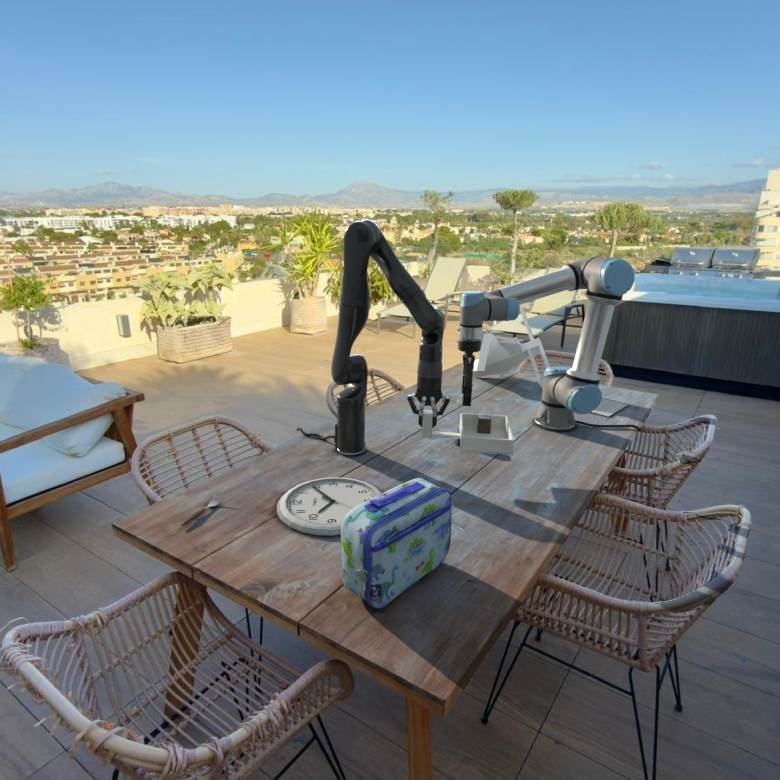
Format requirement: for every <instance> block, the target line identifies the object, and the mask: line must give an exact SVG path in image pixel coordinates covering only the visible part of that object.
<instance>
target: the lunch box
mask: <svg viewBox="0 0 780 780" xmlns="http://www.w3.org/2000/svg"><path fill="white" fill-rule="evenodd" d="M451 539H452V494H451V491H450V490H449V488H446V487H439V486H437V485H435V484H434V483H432V482H430V481H428V480H426V479H424V478H421V477H416V478H413V479H410V480H408V481H405V482H403V483H402V484H398V485H397V486H395V487H392V488H390V489H389V490H386V491H384V492H382V494H380V495H378V496H376V497H374V498H372V499H370V500H368V501H366V502H364V503H362V504H360V505H358V506H356V507H354V508H353V509H351V510H350V511H349V512H348V514H347V515H346V517H345V518H344V520H343V523H342V528H341V535H340V546H341V569H342V570H341V571H342V582H343V585H344V588H345V589H346V590H347V591H349V592H351V593H353V594H355V595H356V596H358V597H359V598H361V599H362V600H364V601H365V602H366V603H367V605H368V606H370V607H372V608H374V609H378V610H379V609H380V610H381V609H383V608H384V607H387V605H389V604H390V603H391V602H392V601H393V600H395V599H396V598H397V597H399V596H400V595H402V594H403V593H404V592H405V591H407V590H408V589H409V588H411V587H412V586H413V585H415V584H416V583H418V581H419V580H420V579H421V578H423V577H425V576H427V575H428V574H429V573H431V572H432V571H434V570H435V569H437V568H438V567H439V566H441V564H442V563H443V562H444V561H445V559H446V557H447V556H448V554H449V550H450V547H451V541H452V540H451Z"/></svg>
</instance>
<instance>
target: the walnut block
mask: <svg viewBox="0 0 780 780" xmlns="http://www.w3.org/2000/svg"><path fill="white" fill-rule="evenodd" d="M477 414H478V422H477V433H485V434H490V430H491V415H492V414H486V415H481V414H482V413H477Z"/></svg>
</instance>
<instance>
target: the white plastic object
mask: <svg viewBox="0 0 780 780" xmlns="http://www.w3.org/2000/svg"><path fill="white" fill-rule="evenodd" d="M519 312H520V314H521V316H522V320H523V323H524V326H525V329H526V331H527V335H528V338H529V341H527V342H524V343H522V342H520V341H519V338H518V337H516V336H514V337H510V338H506V339H502V340H499V339H497V338H496V336H495V335H494V334H493V333H483V336H482V341H481V350H480V351H479V356H478V358H477V359H475V362H474V369H473V377H475V378H477V377H488V376H495V375H500V376H505V375H507V374H509V373H511V370H513V369H514V368H515V367H517V366H518V365H519V364H521V363H523V362H524V361H526V360H527V359H528V357H529V360H530V363H531V366H532V369H533V372H534V375H535V379H536V382H537V383H538V385H539V386H540V388H541V389H542V390H543V382H544V381H543V380H542V379H543V378H542V377H541V373H540V371H539V367H538V364H537V362H536V359H535V355H534V354H537V353H540V354H541V357H542V360H543V363H544V366H545V370H546V369H547V368H548V367H551V365H550V363H549V360H548V356H547V354H546V352H545V351H546V350H545V348H544V346H543V342H542V341H541V339H540V337H537V338H535V337H534V334H533V330H532V328H531V325H530V323H529V319H528V316H527V313H526V311H525V309H524V307H523V306H520V311H519Z"/></svg>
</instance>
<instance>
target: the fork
mask: <svg viewBox="0 0 780 780" xmlns="http://www.w3.org/2000/svg"><path fill="white" fill-rule="evenodd" d="M224 494H225V493H223V492H220V491H217V492H216V494H215V495H214V496H213V498H212V499H211V500H210V502H209V503H208V504H207V506H206V507H204V508H202V509H200V510H198V511H197V512H195V513H194V514H193V515H192V516H190V517H189V518H188V519H186V520H185V521H184V522H183V523H182V524H181V525H180V526H181V527H183V526H185V525H187V524H189V523H190V522H191V521H193V520H195V519H196V518H198V517H199V516H201V515H202V514H203V513H204V512H205V511H206V510H207V509H208V508H212V507H216V506H218V505H219V504H220V503H221V501H222V498H223V497H224Z"/></svg>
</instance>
